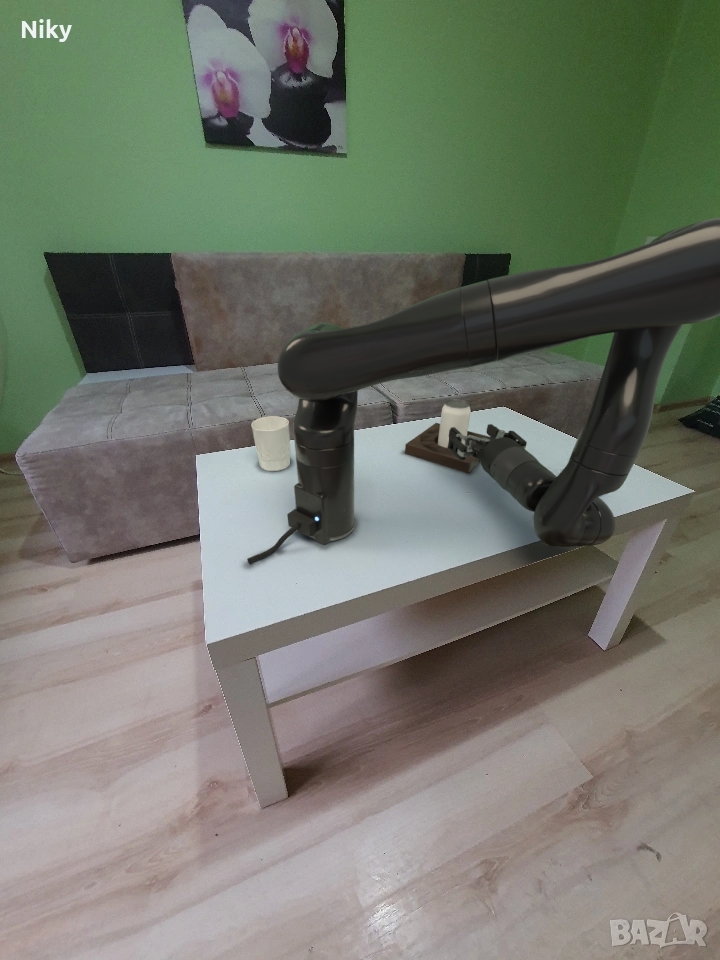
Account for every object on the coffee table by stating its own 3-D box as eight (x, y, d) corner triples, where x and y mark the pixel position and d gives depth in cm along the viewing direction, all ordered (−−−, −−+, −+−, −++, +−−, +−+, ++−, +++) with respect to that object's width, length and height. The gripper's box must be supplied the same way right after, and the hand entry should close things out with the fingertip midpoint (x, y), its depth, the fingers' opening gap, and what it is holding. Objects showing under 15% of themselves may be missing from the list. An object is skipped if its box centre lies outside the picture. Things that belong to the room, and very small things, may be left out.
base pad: (468, 473, 84) (470, 463, 83) (404, 453, 92) (405, 444, 91) (493, 447, 95) (495, 438, 94) (434, 431, 103) (435, 422, 102)
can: (436, 443, 97) (442, 397, 90) (463, 445, 96) (470, 399, 90) (437, 455, 91) (443, 407, 85) (465, 457, 91) (473, 409, 84)
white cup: (289, 453, 92) (285, 414, 86) (295, 469, 85) (291, 427, 80) (255, 458, 89) (249, 418, 84) (259, 475, 83) (252, 432, 78)
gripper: (551, 443, 68) (503, 410, 82) (477, 451, 66) (440, 415, 79) (541, 480, 72) (496, 442, 86) (470, 488, 70) (436, 448, 83)
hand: (470, 429), depth 82 cm, fingers open, 8 cm apart
